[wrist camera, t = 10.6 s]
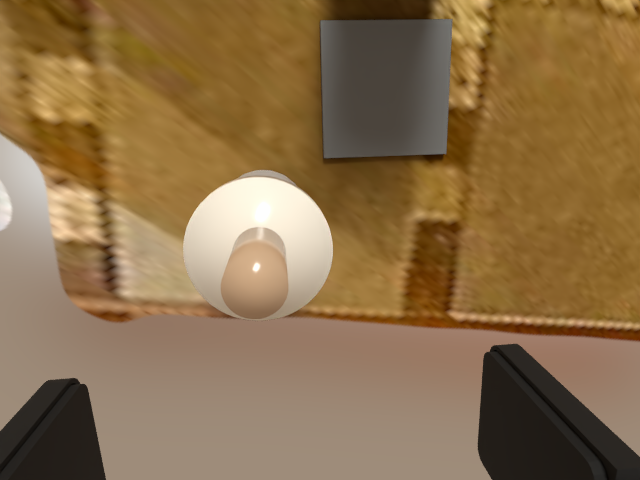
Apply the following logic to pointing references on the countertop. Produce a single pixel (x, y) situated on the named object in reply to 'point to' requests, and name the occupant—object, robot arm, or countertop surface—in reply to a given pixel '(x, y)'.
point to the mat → (385, 87)
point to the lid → (258, 248)
